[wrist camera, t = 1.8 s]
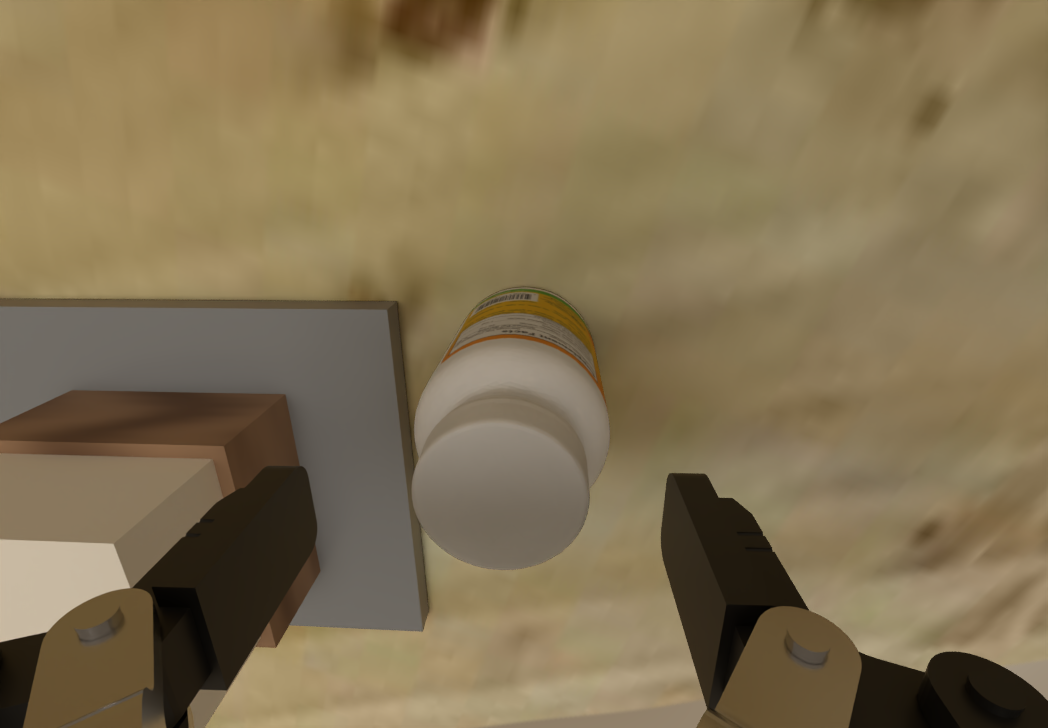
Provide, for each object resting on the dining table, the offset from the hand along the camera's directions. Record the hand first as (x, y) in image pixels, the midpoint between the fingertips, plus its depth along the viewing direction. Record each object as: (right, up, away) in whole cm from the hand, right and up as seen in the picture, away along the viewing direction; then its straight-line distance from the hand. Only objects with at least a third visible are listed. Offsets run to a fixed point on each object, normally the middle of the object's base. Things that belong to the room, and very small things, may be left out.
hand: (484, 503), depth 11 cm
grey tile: (-13, -2, +12) cm, 18 cm away
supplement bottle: (+1, +4, +9) cm, 10 cm away
